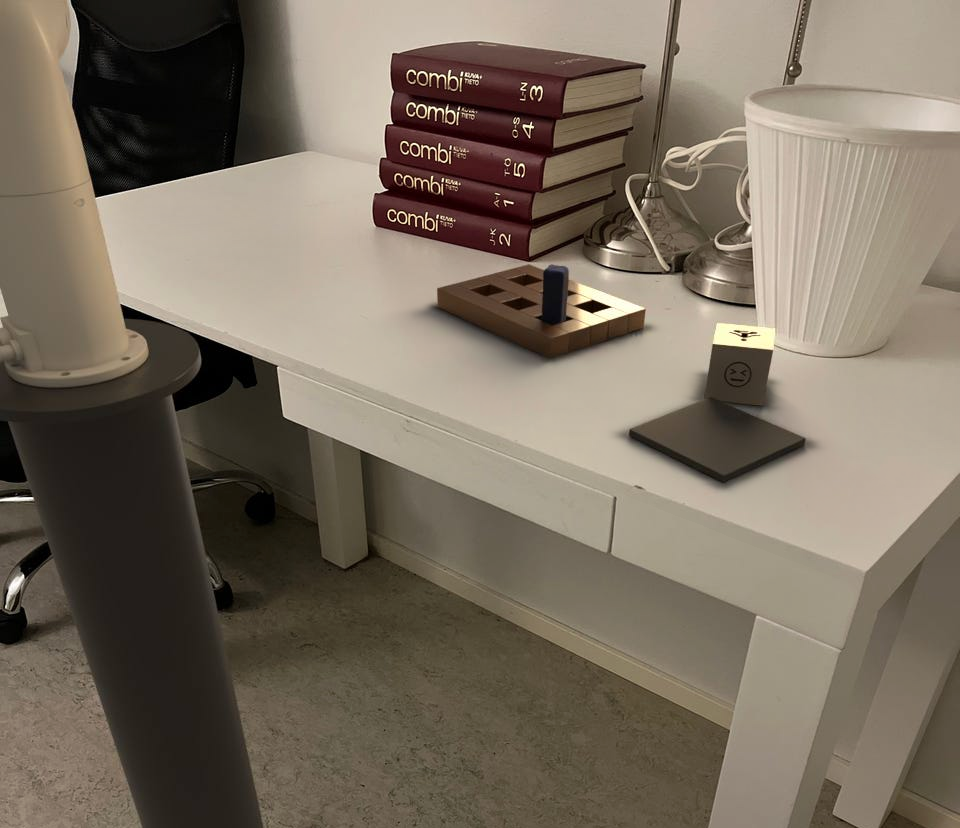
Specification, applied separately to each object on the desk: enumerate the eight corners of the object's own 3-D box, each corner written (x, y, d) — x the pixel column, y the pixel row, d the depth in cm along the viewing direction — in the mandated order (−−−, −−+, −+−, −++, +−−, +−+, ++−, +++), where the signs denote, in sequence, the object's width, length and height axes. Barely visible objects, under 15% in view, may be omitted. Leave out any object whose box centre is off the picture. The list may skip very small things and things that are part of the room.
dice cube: (765, 382, 87) (775, 328, 84) (762, 405, 83) (773, 349, 80) (709, 376, 88) (717, 322, 85) (704, 399, 84) (712, 343, 81)
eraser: (546, 332, 97) (549, 262, 93) (567, 335, 96) (570, 265, 92) (538, 339, 95) (540, 269, 91) (559, 343, 95) (562, 272, 90)
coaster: (722, 482, 73) (724, 475, 73) (628, 435, 79) (629, 428, 79) (804, 444, 78) (806, 437, 77) (709, 403, 84) (710, 396, 84)
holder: (549, 359, 92) (550, 338, 90) (437, 306, 103) (436, 287, 101) (644, 328, 98) (646, 308, 97) (528, 282, 109) (529, 264, 108)
